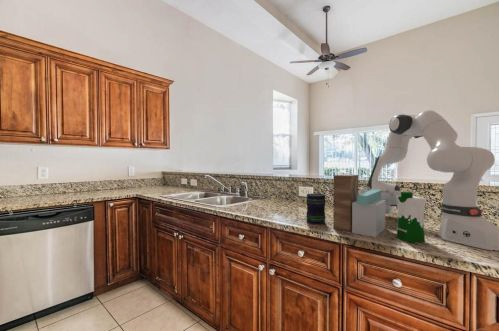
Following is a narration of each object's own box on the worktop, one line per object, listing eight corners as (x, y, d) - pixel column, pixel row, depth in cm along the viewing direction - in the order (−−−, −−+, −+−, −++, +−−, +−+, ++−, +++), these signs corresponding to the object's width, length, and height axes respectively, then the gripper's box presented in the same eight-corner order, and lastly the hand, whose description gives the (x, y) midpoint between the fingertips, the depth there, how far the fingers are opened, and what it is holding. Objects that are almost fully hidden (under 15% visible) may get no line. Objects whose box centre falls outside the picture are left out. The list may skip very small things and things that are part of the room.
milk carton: (393, 237, 104) (393, 191, 104) (411, 236, 106) (411, 190, 105) (409, 244, 96) (410, 193, 95) (429, 242, 97) (430, 193, 97)
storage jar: (326, 225, 124) (326, 196, 123) (306, 224, 126) (306, 195, 125) (324, 220, 133) (324, 193, 133) (306, 219, 135) (306, 193, 135)
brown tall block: (342, 223, 127) (342, 174, 126) (358, 226, 121) (358, 174, 121) (333, 228, 117) (333, 175, 117) (350, 231, 112) (350, 176, 112)
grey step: (363, 225, 124) (363, 197, 124) (385, 228, 117) (385, 199, 117) (352, 232, 110) (352, 202, 110) (376, 237, 104) (376, 205, 103)
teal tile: (372, 197, 126) (372, 189, 126) (380, 198, 123) (381, 190, 123) (357, 204, 106) (357, 195, 106) (367, 205, 103) (367, 195, 103)
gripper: (363, 192, 143) (357, 182, 134) (403, 195, 130) (400, 184, 121) (361, 202, 141) (355, 192, 131) (402, 206, 128) (399, 196, 118)
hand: (377, 188), depth 126 cm, fingers open, 8 cm apart
